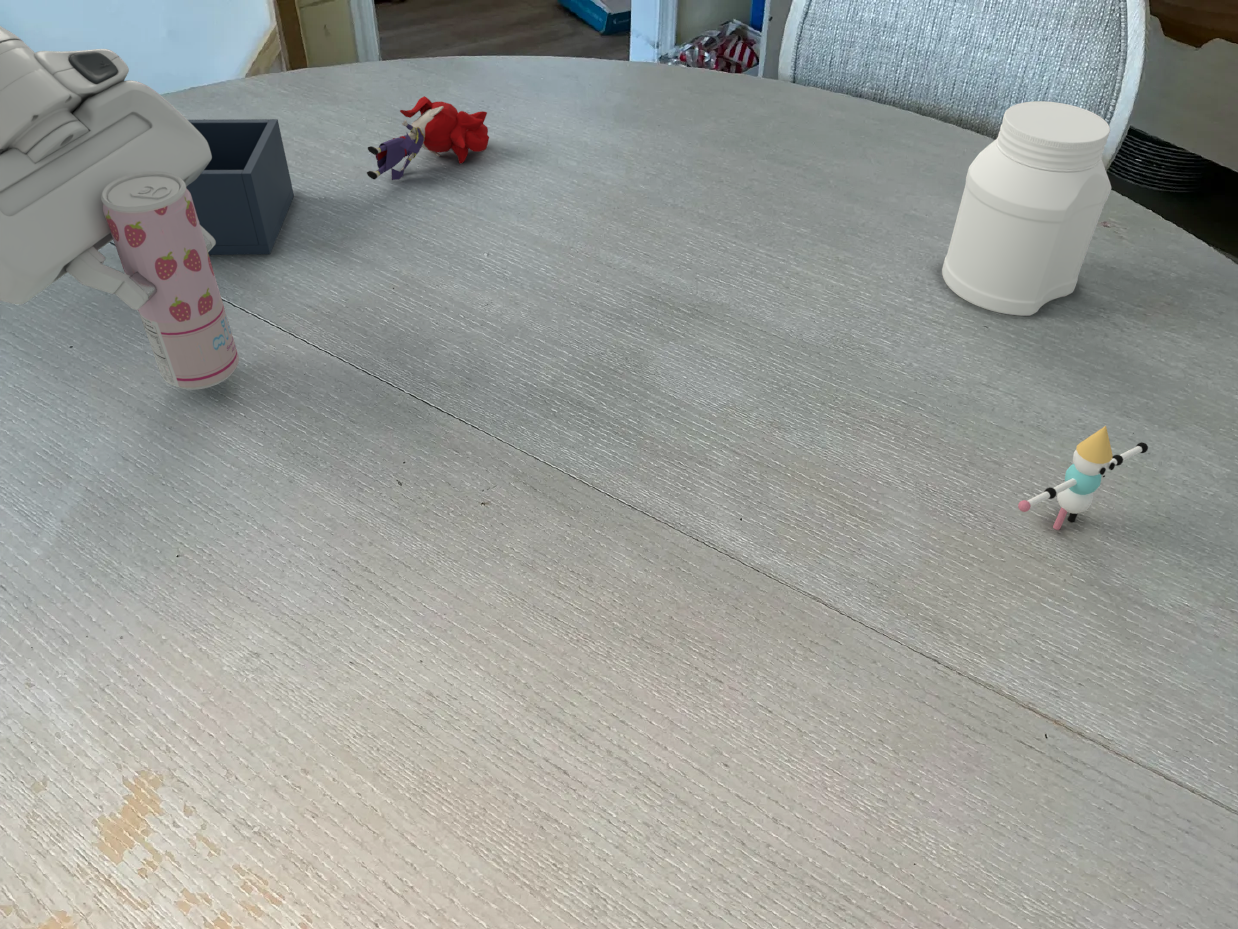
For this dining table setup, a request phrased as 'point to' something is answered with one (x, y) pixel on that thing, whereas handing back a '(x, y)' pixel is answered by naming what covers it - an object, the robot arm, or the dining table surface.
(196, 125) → the bin
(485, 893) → the dining table surface
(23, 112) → the robot arm
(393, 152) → the figurine
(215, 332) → the beverage can
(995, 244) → the jar
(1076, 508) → the toy figure
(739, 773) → the dining table surface
